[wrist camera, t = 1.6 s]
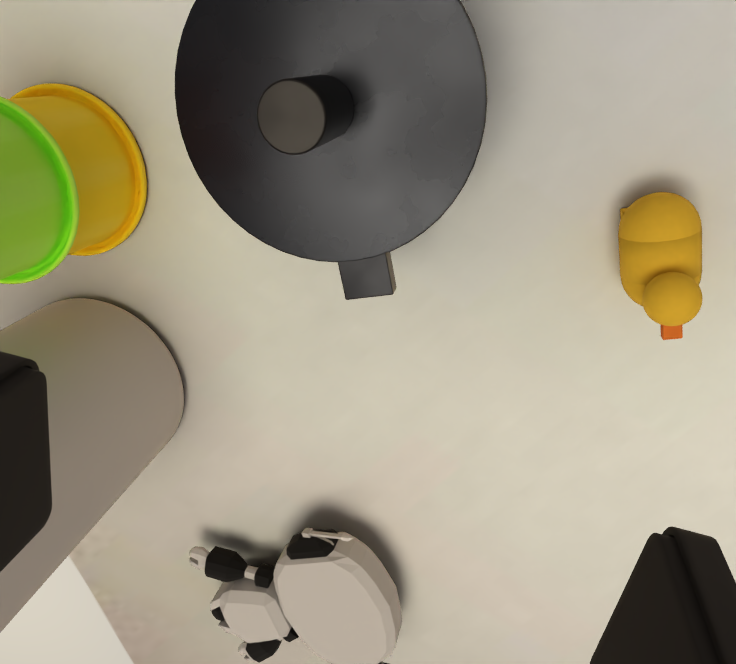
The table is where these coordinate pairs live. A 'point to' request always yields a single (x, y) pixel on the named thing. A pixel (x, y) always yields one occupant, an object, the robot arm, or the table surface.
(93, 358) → the cylinder vase
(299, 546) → the robot toy
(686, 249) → the duck
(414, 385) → the table surface
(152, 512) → the table surface
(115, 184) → the stacking cups
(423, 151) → the pan lid
